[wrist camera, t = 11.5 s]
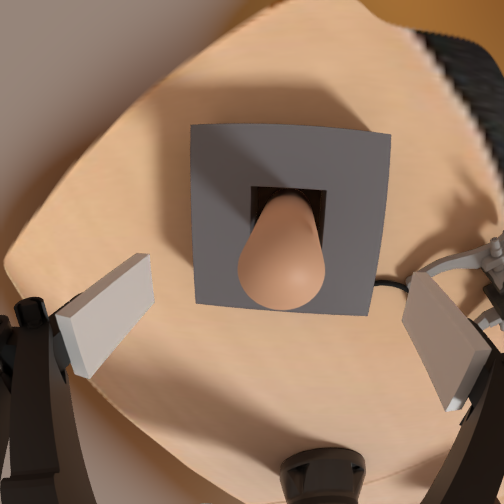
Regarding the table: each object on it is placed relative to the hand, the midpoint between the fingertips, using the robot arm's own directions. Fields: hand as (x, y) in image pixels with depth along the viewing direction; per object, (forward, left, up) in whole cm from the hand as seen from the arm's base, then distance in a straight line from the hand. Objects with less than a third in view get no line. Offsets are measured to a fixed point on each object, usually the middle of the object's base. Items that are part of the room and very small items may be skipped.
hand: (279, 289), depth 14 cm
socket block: (0, 0, -16) cm, 16 cm away
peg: (0, 0, -16) cm, 16 cm away
